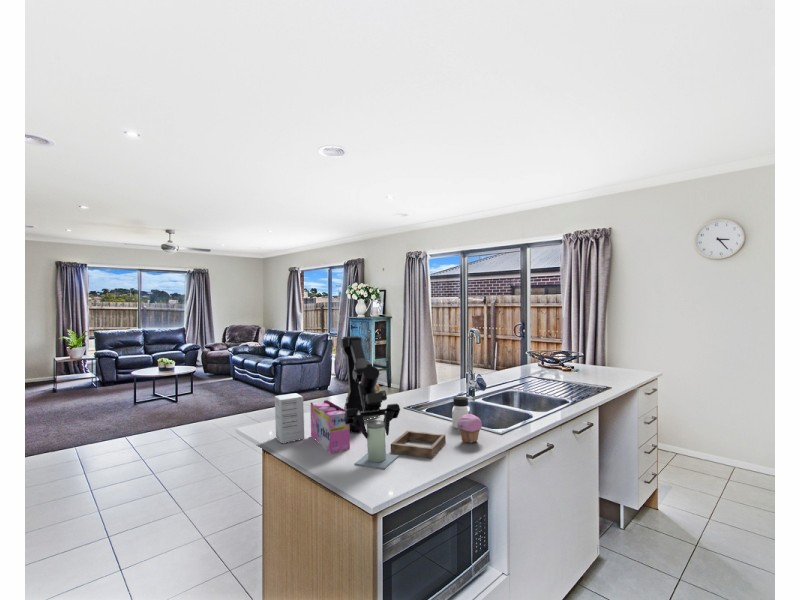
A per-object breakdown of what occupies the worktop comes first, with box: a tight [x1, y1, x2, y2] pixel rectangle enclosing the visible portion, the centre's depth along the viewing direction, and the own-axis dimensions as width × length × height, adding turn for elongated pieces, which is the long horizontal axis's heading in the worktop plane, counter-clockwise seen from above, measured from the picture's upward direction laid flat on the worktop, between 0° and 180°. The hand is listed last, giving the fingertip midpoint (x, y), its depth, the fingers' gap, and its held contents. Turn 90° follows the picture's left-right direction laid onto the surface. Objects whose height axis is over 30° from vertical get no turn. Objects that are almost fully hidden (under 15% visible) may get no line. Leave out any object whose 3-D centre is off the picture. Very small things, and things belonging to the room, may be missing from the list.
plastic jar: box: [366, 419, 387, 462], centre depth 133 cm, size 6×6×12 cm
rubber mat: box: [353, 452, 400, 470], centre depth 133 cm, size 11×11×1 cm
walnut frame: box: [390, 430, 447, 459], centre depth 144 cm, size 15×15×3 cm
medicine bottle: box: [451, 395, 471, 429], centre depth 169 cm, size 7×7×12 cm
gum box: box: [309, 400, 351, 454], centre depth 153 cm, size 24×8×14 cm, turn 31°
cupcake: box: [458, 413, 483, 444], centre depth 149 cm, size 9×9×10 cm
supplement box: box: [274, 392, 305, 444], centre depth 158 cm, size 10×9×17 cm
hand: (377, 436), depth 132 cm, fingers open, 7 cm apart
